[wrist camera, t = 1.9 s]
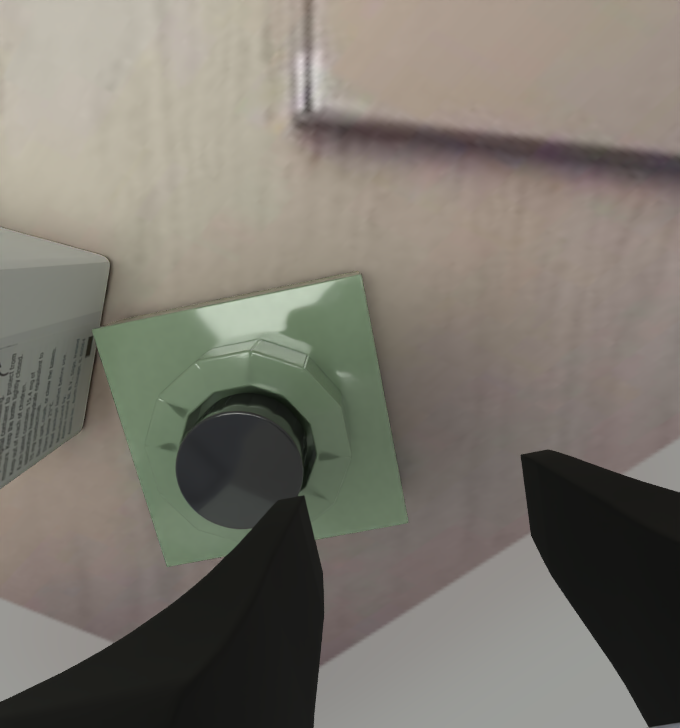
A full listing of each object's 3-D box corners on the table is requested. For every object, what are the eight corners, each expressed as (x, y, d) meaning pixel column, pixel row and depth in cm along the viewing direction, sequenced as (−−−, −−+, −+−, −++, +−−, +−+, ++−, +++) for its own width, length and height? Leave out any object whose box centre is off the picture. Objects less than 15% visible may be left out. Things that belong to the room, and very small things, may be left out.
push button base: (401, 493, 23) (416, 553, 18) (185, 533, 23) (148, 601, 19) (358, 270, 20) (364, 277, 16) (119, 319, 21) (61, 339, 16)
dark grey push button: (317, 487, 18) (315, 518, 16) (209, 508, 18) (193, 540, 16) (293, 381, 17) (287, 399, 15) (179, 404, 17) (159, 425, 15)
